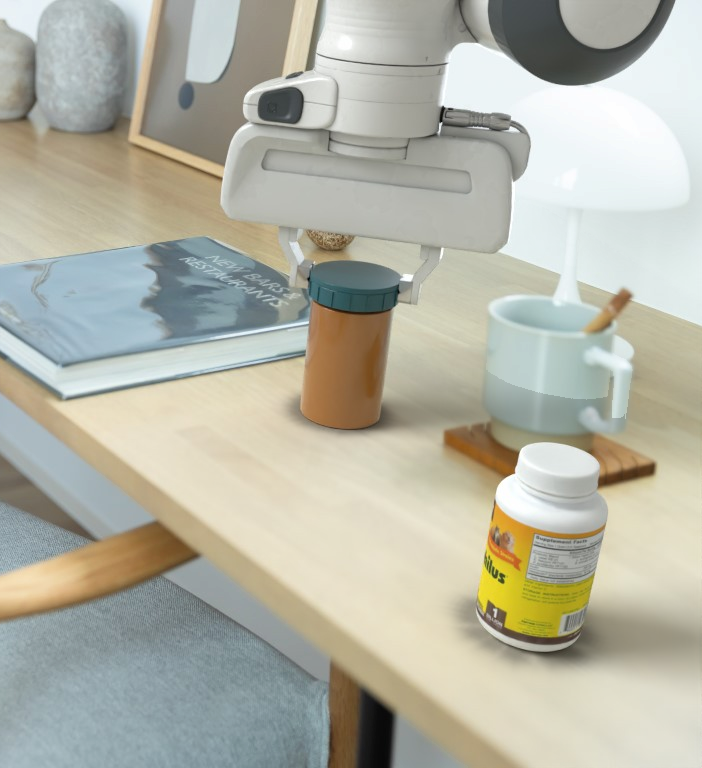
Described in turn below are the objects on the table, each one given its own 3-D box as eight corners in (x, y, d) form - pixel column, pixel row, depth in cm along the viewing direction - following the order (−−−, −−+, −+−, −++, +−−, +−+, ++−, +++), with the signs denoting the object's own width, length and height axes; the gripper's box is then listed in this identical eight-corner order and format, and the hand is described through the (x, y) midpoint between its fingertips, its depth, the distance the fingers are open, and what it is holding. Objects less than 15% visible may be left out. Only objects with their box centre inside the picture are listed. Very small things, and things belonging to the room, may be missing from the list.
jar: (367, 395, 92) (383, 268, 88) (389, 428, 86) (408, 296, 82) (292, 395, 91) (305, 268, 87) (310, 429, 86) (324, 295, 82)
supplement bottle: (469, 591, 67) (499, 428, 63) (572, 605, 66) (608, 441, 62) (476, 648, 61) (508, 475, 57) (587, 664, 61) (627, 490, 57)
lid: (348, 276, 89) (350, 254, 89) (418, 300, 85) (421, 278, 84) (288, 292, 85) (291, 270, 85) (359, 319, 81) (362, 295, 80)
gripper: (538, 109, 79) (503, 302, 85) (245, 80, 85) (231, 262, 91) (534, 124, 74) (497, 330, 79) (221, 93, 80) (207, 285, 85)
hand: (352, 293), depth 85 cm, fingers closed on lid, 6 cm apart
